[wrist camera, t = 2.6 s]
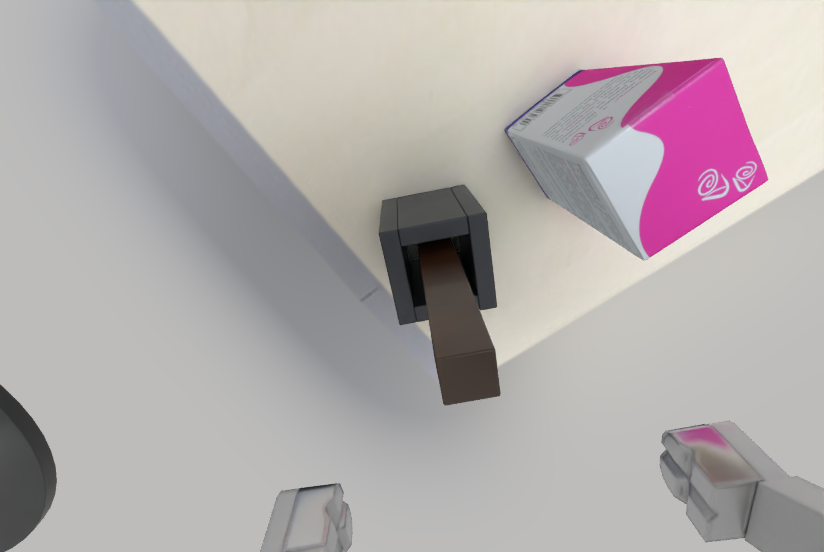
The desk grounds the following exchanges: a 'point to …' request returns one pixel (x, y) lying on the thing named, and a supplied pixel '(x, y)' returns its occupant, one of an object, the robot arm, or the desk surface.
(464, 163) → the desk surface
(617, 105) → the supplement box
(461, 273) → the stick
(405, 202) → the holder
